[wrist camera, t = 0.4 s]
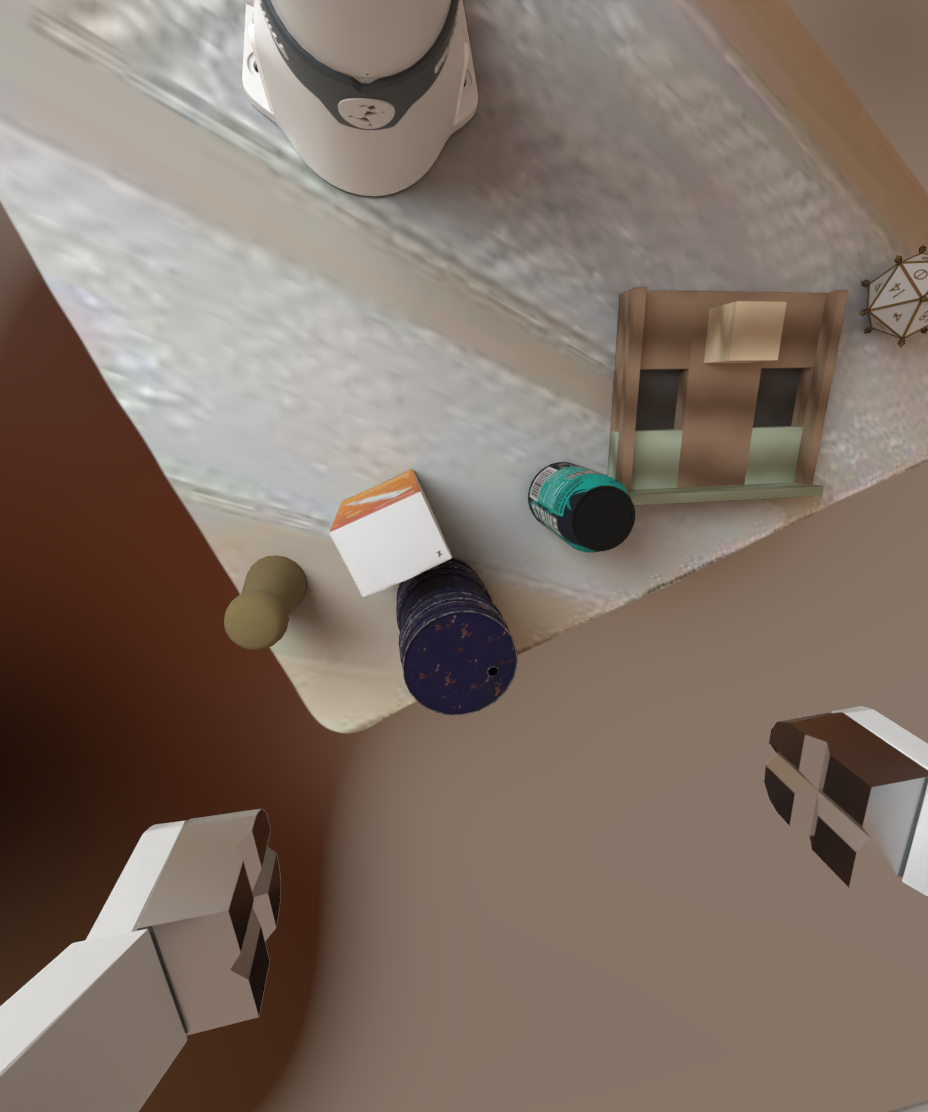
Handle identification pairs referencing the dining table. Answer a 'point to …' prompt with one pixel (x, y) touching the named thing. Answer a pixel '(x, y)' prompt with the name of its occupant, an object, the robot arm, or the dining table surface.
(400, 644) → the storage jar
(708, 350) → the beech block
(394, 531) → the small box
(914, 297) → the game die
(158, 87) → the dining table surface
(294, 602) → the olive rounded lobed piece
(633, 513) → the beverage can
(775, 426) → the box
